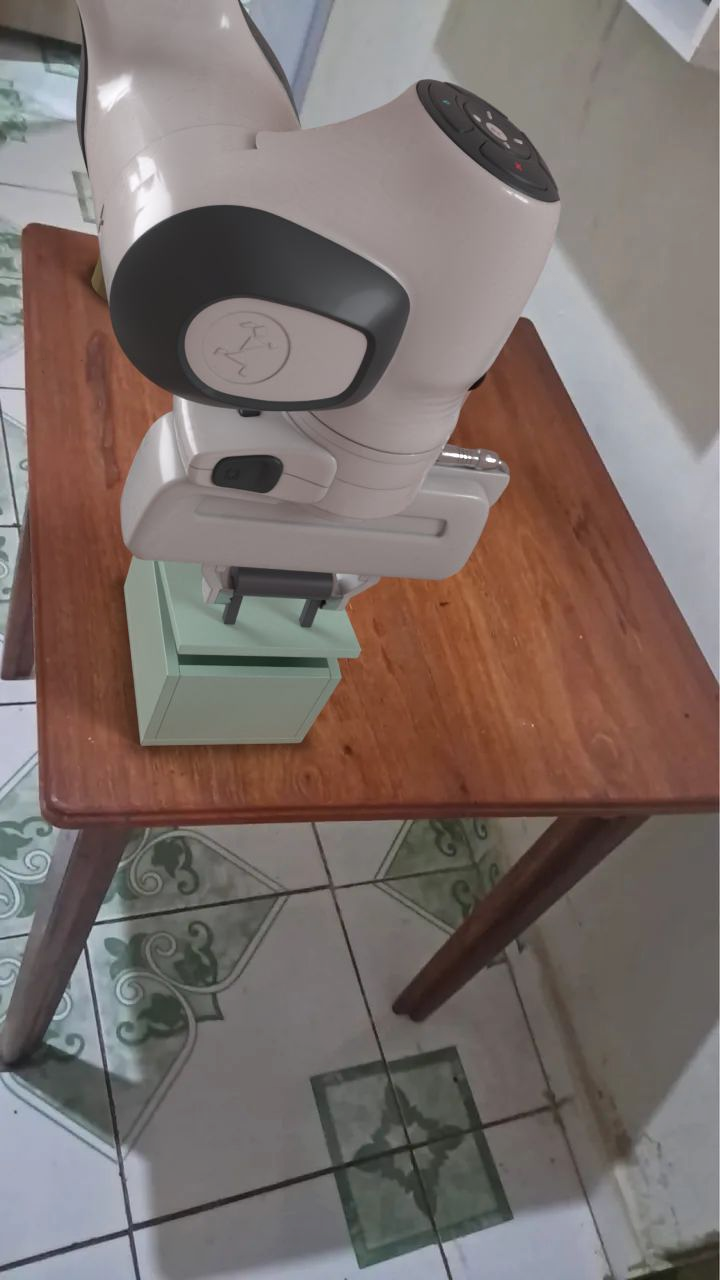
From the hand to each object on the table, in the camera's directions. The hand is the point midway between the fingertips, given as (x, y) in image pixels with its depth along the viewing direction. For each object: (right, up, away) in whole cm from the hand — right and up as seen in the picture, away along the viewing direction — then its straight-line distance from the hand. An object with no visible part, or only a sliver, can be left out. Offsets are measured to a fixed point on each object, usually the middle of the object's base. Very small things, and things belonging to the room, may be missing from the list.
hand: (271, 599), depth 58 cm
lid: (-2, +1, +4) cm, 5 cm away
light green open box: (-6, -4, +12) cm, 14 cm away
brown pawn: (-18, +32, +34) cm, 50 cm away
